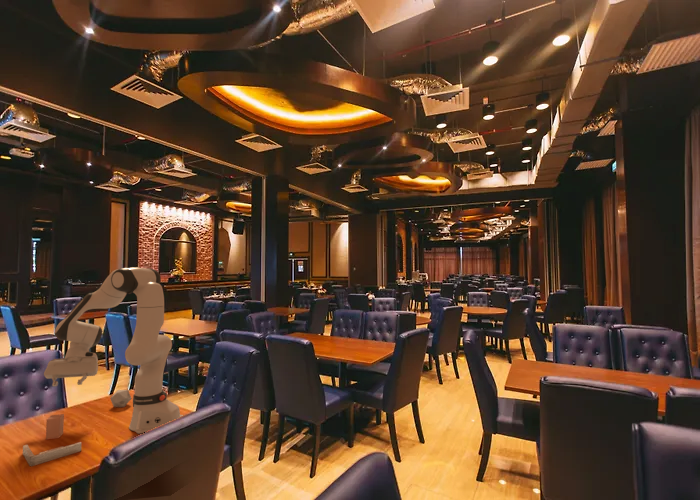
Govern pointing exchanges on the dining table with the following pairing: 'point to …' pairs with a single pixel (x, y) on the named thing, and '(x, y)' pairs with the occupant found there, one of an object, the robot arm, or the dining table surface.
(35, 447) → the dining table surface
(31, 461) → the corner wall
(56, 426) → the block
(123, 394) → the grey faceted polyhedron
